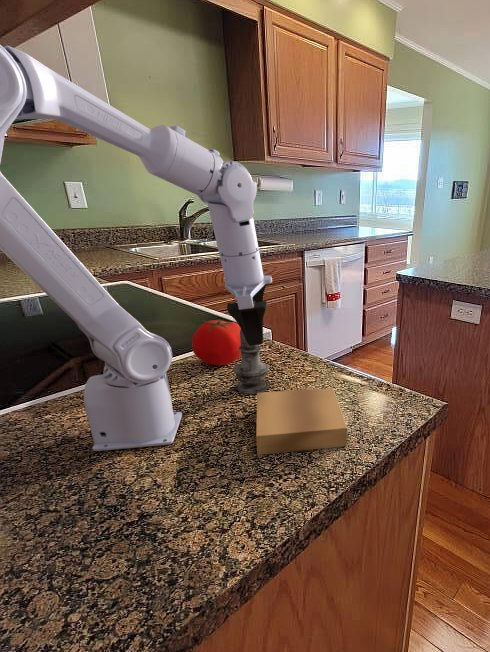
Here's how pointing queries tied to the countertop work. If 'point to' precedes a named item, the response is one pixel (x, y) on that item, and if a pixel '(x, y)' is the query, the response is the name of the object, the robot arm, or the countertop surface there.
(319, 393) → the block
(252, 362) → the grey chess piece
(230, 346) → the tomato
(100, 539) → the countertop surface
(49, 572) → the countertop surface
